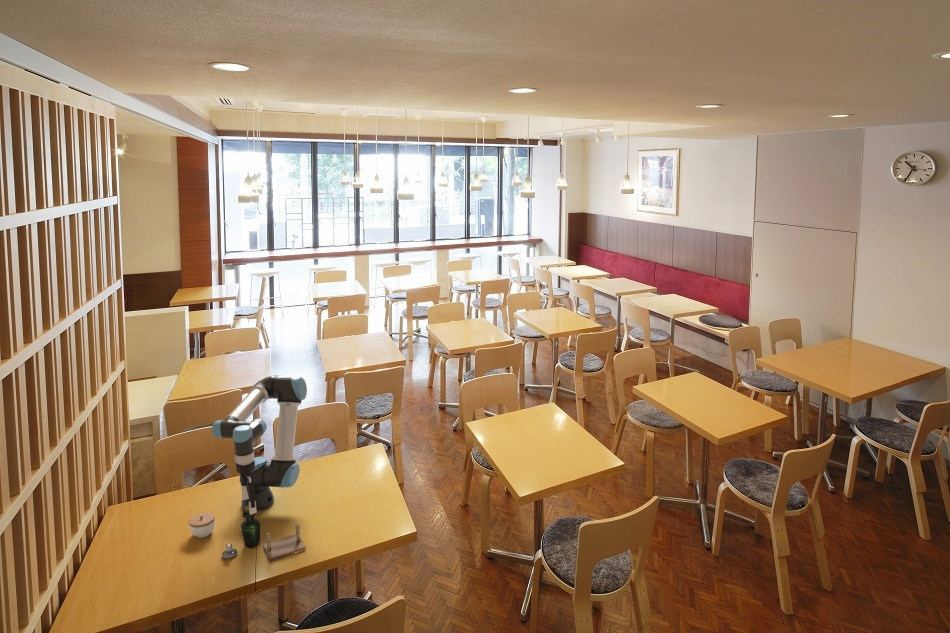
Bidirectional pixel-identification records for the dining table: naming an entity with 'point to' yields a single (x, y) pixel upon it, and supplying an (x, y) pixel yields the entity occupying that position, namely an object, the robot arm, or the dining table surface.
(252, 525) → the potion bottle
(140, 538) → the dining table surface
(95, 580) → the dining table surface
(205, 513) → the lidded jar
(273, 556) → the rack
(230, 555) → the ring nut stud
